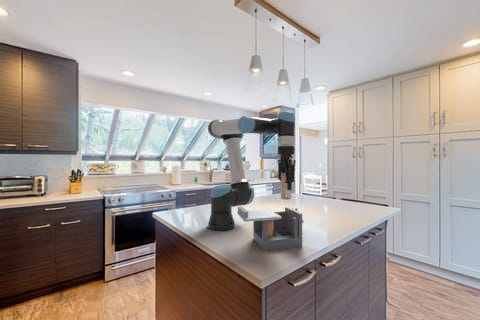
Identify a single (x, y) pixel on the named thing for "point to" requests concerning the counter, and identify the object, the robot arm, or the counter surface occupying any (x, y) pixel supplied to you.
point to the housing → (280, 231)
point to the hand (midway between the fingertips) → (285, 196)
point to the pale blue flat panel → (257, 215)
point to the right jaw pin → (283, 186)
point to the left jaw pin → (269, 228)
